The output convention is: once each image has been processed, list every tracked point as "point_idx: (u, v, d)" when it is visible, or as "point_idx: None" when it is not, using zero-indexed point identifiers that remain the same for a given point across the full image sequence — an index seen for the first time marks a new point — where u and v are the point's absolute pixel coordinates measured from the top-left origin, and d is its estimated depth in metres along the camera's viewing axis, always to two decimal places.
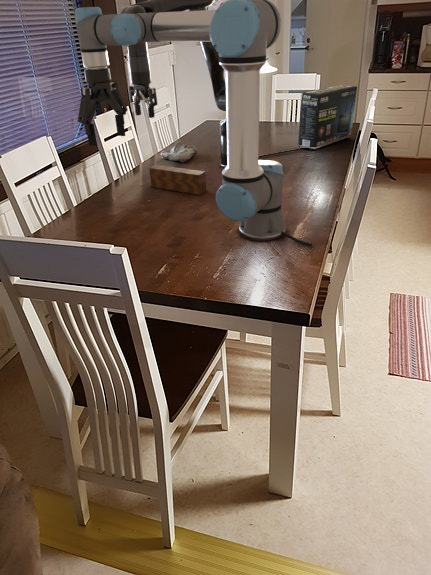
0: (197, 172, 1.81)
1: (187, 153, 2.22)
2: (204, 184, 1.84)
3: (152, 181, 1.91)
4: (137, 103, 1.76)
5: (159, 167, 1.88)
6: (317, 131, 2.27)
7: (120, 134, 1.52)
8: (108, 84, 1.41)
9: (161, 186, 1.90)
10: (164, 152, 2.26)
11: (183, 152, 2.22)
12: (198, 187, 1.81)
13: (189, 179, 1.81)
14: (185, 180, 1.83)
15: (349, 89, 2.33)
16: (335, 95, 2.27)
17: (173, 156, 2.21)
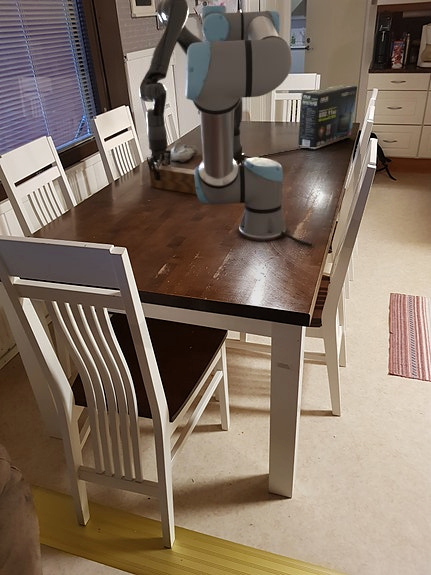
0: None
1: (187, 153, 2.22)
2: None
3: (152, 181, 1.91)
4: None
5: (159, 167, 1.88)
6: (317, 131, 2.27)
7: None
8: None
9: (161, 186, 1.90)
10: None
11: (183, 152, 2.22)
12: None
13: (189, 179, 1.81)
14: (185, 180, 1.83)
15: (349, 89, 2.33)
16: (335, 95, 2.27)
17: (173, 156, 2.21)
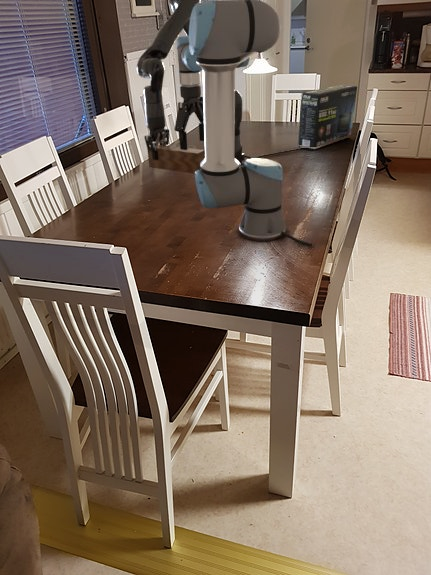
0: (196, 151, 1.76)
1: None
2: None
3: (150, 161, 1.87)
4: None
5: (157, 147, 1.84)
6: (317, 131, 2.27)
7: (202, 139, 1.80)
8: (198, 98, 1.69)
9: (159, 166, 1.86)
10: None
11: None
12: (197, 166, 1.77)
13: (188, 158, 1.77)
14: (184, 159, 1.78)
15: (349, 89, 2.33)
16: (335, 95, 2.27)
17: None
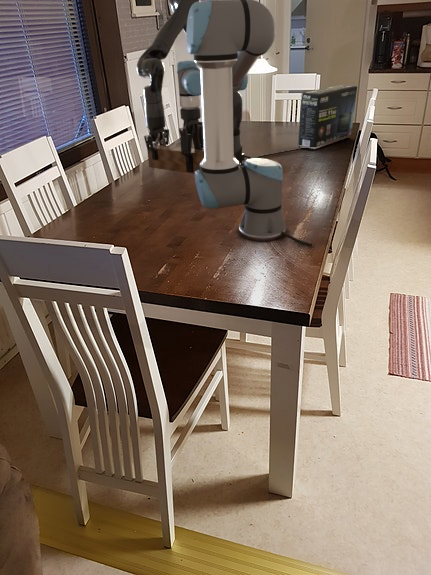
0: (195, 151, 1.76)
1: None
2: None
3: (150, 161, 1.87)
4: None
5: (157, 147, 1.84)
6: (317, 131, 2.27)
7: None
8: (197, 120, 1.73)
9: (159, 166, 1.86)
10: None
11: None
12: (197, 166, 1.77)
13: None
14: (183, 159, 1.78)
15: (349, 89, 2.33)
16: (335, 95, 2.27)
17: None
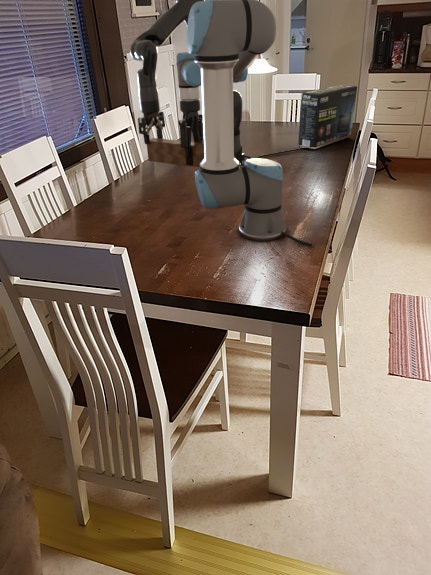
0: (195, 144, 1.75)
1: None
2: (203, 156, 1.78)
3: (149, 155, 1.86)
4: None
5: (157, 140, 1.83)
6: (317, 131, 2.27)
7: None
8: (197, 112, 1.72)
9: (158, 160, 1.84)
10: None
11: None
12: (197, 159, 1.75)
13: None
14: (183, 152, 1.77)
15: (349, 89, 2.33)
16: (335, 95, 2.27)
17: None
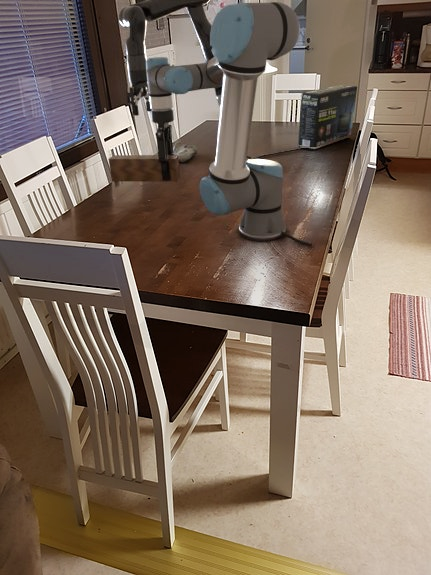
0: (170, 157, 1.60)
1: (187, 153, 2.22)
2: (178, 169, 1.64)
3: (113, 174, 1.64)
4: None
5: (121, 157, 1.62)
6: (317, 131, 2.27)
7: None
8: (168, 122, 1.58)
9: (125, 179, 1.65)
10: None
11: (183, 152, 2.22)
12: (175, 172, 1.61)
13: None
14: (157, 167, 1.61)
15: (349, 89, 2.33)
16: (335, 95, 2.27)
17: None
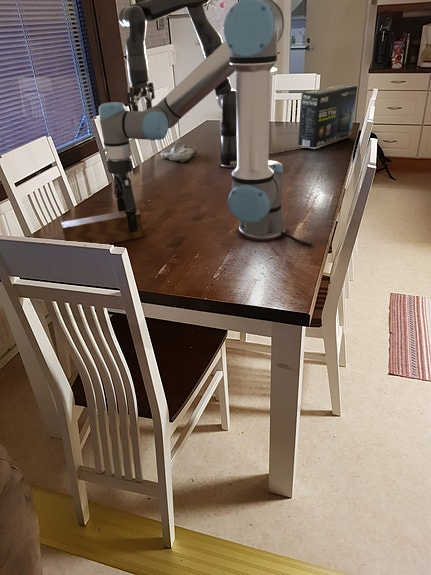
0: None
1: (187, 153, 2.22)
2: None
3: None
4: None
5: (75, 223, 1.41)
6: (317, 131, 2.27)
7: None
8: None
9: None
10: (164, 152, 2.26)
11: (183, 152, 2.22)
12: (141, 228, 1.48)
13: None
14: (121, 226, 1.45)
15: (349, 89, 2.33)
16: (335, 95, 2.27)
17: (173, 156, 2.21)
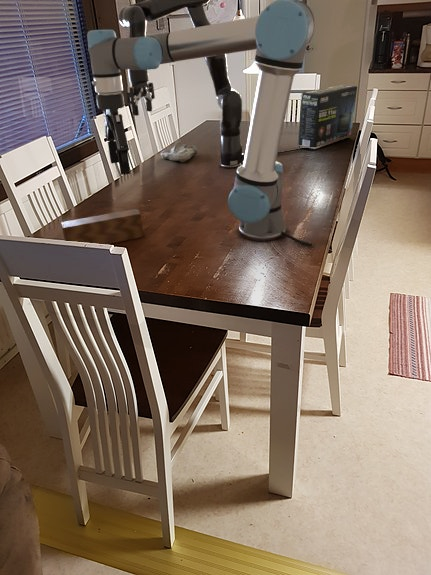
0: (132, 212, 1.47)
1: (187, 153, 2.22)
2: None
3: None
4: None
5: (75, 223, 1.41)
6: (317, 131, 2.27)
7: (115, 161, 1.44)
8: None
9: None
10: (164, 152, 2.26)
11: (183, 152, 2.22)
12: (141, 228, 1.48)
13: (128, 222, 1.46)
14: (121, 226, 1.45)
15: (349, 89, 2.33)
16: (335, 95, 2.27)
17: (173, 156, 2.21)
